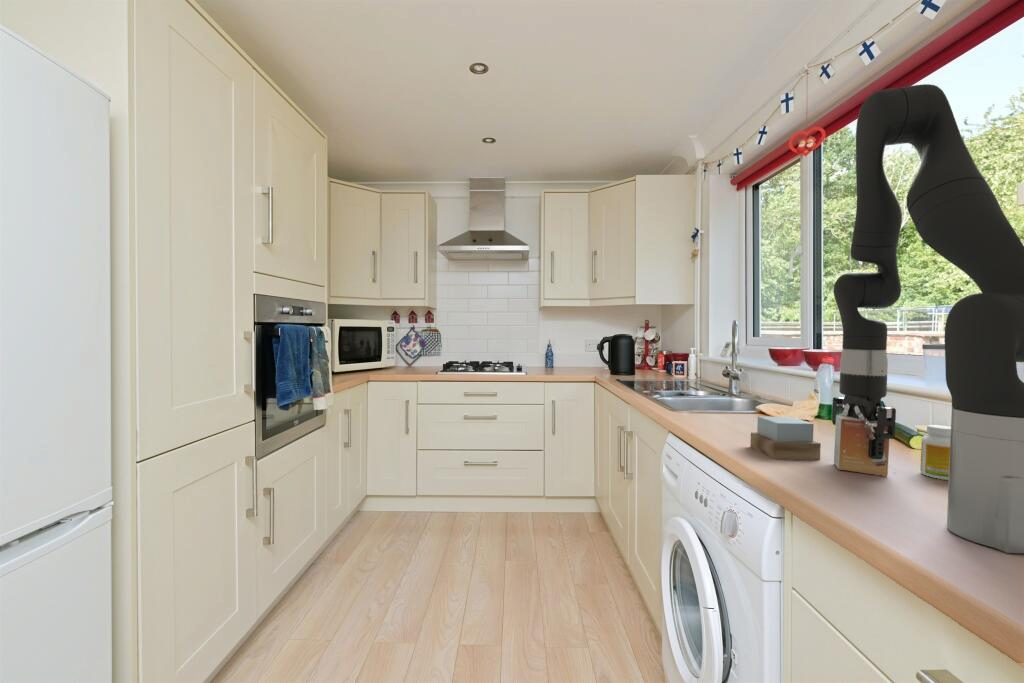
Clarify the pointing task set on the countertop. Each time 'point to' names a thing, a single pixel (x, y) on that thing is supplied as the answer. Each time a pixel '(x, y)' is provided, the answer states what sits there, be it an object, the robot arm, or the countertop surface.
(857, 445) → the small box
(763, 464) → the countertop surface
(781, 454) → the walnut base block
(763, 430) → the slate top block
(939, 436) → the supplement bottle
